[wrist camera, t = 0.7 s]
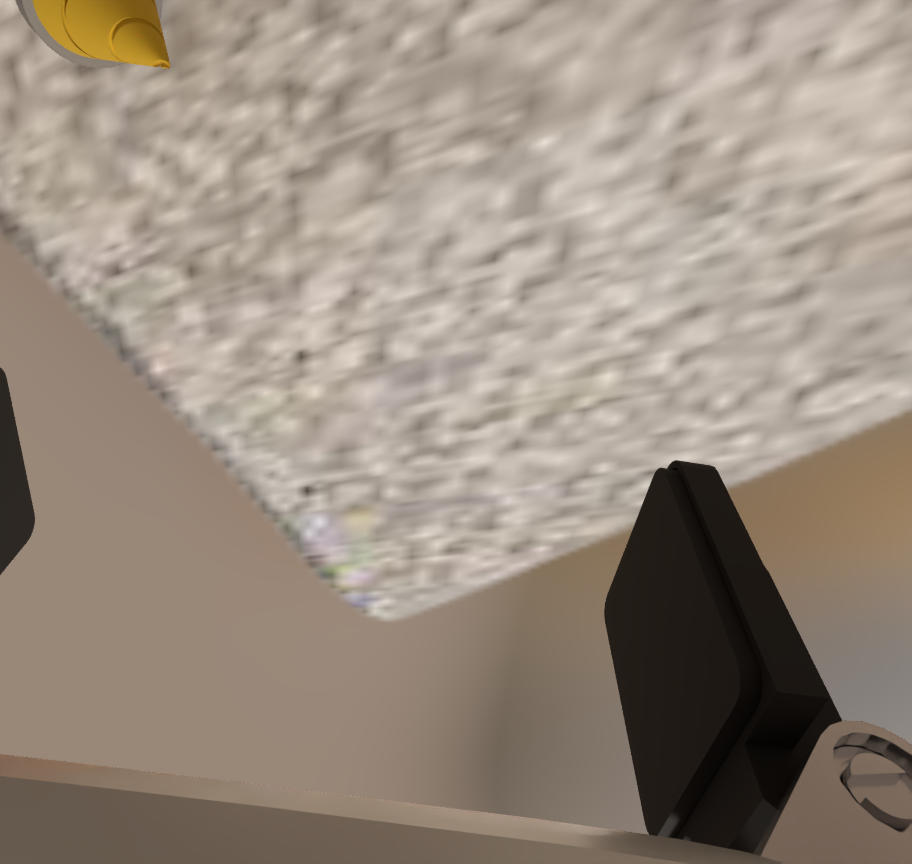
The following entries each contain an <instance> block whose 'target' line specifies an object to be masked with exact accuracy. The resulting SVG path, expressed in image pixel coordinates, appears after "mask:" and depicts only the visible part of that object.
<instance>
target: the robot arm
mask: <svg viewBox="0 0 912 864" xmlns="http://www.w3.org/2000/svg"><path fill="white" fill-rule="evenodd" d="M34 523H35V516H34V510H33V505H32V500H31V495H30V490H29V486H28V481H27V475H26V470H25V466H24V461H23V456H22V451H21V446H20V441H19V436H18V431H17V427H16V422H15V417H14V412H13V407H12V402H11V397H10V392H9V388H8V383H7V378H6V375H5V372H4V371H3V370H2V369H1V368H0V575H1V573H2V572H3V571H4V570H5V568H6V567H7V566H8V565H9V563H10V562H11V561H12V560H13V559H14V557H15V556H16V555H17V554H18V552H19V551H20V550H21V549H22V547H23V546H24V545H25V544H26V543H27V541H28V540H29V538H30V536H31V534H32V532H33V528H34ZM604 613H605V614H604V615H605V624H606V628H607V633H608V638H609V644H610V649H611V654H612V659H613V664H614V669H615V674H616V679H617V684H618V689H619V694H620V699H621V704H622V710H623V715H624V719H625V725H626V730H627V735H628V740H629V745H630V749H631V755H632V760H633V765H634V770H635V775H636V780H637V785H638V791H639V795H640V800H641V806H642V811H643V816H644V821H645V825H646V828H647V831H648V833H649V835H647V834H639V833H632V832H626V831H619V830H612V829H605V828H598V827H591V826H584V825H577V824H569V823H562V822H555V821H548V820H541V819H533V818H525V817H517V816H509V815H501V814H492V813H485V812H477V811H469V810H461V809H453V808H445V807H437V806H429V805H421V804H413V803H405V802H397V801H389V800H380V799H372V798H365V797H357V796H348V795H341V794H333V793H324V792H316V791H308V790H300V789H291V788H283V787H275V786H266V785H258V784H250V783H241V782H233V781H225V780H217V779H208V778H200V777H191V776H183V775H175V774H166V773H157V772H149V771H141V770H132V769H124V768H116V767H107V766H98V765H90V764H82V763H73V762H65V761H56V760H48V759H39V758H30V757H21V756H13V755H4V754H0V864H912V745H911V744H910V743H909V742H907V741H906V740H905V739H903V738H901V737H899V736H897V735H895V734H894V733H892V732H890V731H888V730H886V729H884V728H882V727H878V726H875V725H872V724H869V723H866V722H863V721H846V720H844V721H842V719H841V717H840V716H839V713H838V711H837V709H836V707H835V705H834V703H833V701H832V699H831V697H830V695H829V693H828V691H827V689H826V687H825V685H824V683H823V681H822V679H821V677H820V675H819V673H818V671H817V669H816V667H815V665H814V663H813V661H812V659H811V657H810V655H809V653H808V651H807V649H806V647H805V644H804V642H803V640H802V639H801V636H800V634H799V632H798V630H797V628H796V626H795V624H794V622H793V620H792V618H791V616H790V614H789V612H788V610H787V608H786V606H785V604H784V602H783V600H782V598H781V596H780V594H779V592H778V590H777V588H776V586H775V584H774V582H773V580H772V578H771V576H770V574H769V572H768V571H767V569H766V568H765V566H764V565H763V563H762V561H761V559H760V557H759V555H758V552H757V551H756V549H755V546H754V544H753V542H752V541H751V538H750V536H749V534H748V532H747V530H746V528H745V526H744V524H743V522H742V520H741V518H740V516H739V514H738V512H737V510H736V508H735V506H734V504H733V502H732V500H731V498H730V495H729V493H728V491H727V489H726V487H725V485H724V483H723V481H722V479H721V477H720V475H719V473H718V471H717V470H716V468H715V467H713V466H710V465H703V464H697V463H690V462H684V461H677V460H675V461H673V462H672V463H671V464H670V465H669V466H668V468H667V469H665V468H659V469H658V470H657V471H656V472H655V474H654V476H653V479H652V481H651V484H650V486H649V489H648V492H647V494H646V497H645V499H644V502H643V504H642V507H641V510H640V512H639V515H638V517H637V520H636V522H635V525H634V528H633V530H632V533H631V535H630V538H629V540H628V544H627V546H626V548H625V551H624V553H623V556H622V558H621V561H620V564H619V566H618V569H617V572H616V574H615V576H614V579H613V582H612V584H611V587H610V589H609V592H608V595H607V598H606V602H605V611H604Z"/></svg>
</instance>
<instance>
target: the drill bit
mask: <svg viewBox="0 0 912 864" xmlns="http://www.w3.org/2000/svg"><path fill="white" fill-rule="evenodd" d="M16 3H17V5H18V7H19V10H20V12H21V14H22V15H23V17H24V18H25V20H26V21H27V23H28V25H29V26H30V27H31V28H32V29H33V30H34V31H35V32H36V34H37V35H38V36H39V37H40V38H41V39H42V40H43V41H44V42H45V43H46V44H47V46H49V47H50V48H51V49H52V50H54V51H55V52H56V53H57V54H59V55H60V56H62V57H64V58H66V59H68V60H69V61H71V62H74V63H77V64H80V65H83V66H87V67H95V68H106V67H114V66H117V65H121V64H124V63H130V64H138V65H145V66H153V67H158V66H160V65H161V68H170V62H169V58H168V53H167V49H166V45H165V41H164V36H163V32H162V28H161V24H160V18H161V11H162V0H16Z"/></svg>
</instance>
